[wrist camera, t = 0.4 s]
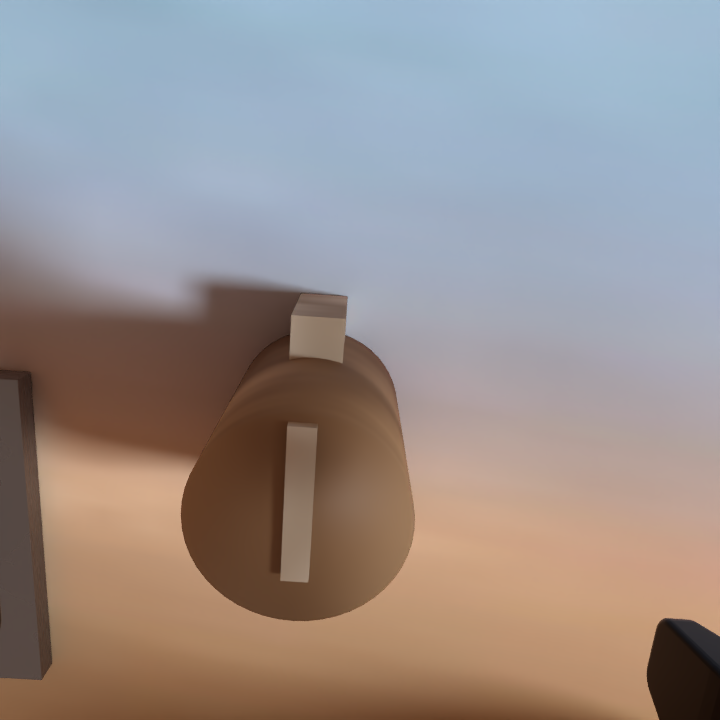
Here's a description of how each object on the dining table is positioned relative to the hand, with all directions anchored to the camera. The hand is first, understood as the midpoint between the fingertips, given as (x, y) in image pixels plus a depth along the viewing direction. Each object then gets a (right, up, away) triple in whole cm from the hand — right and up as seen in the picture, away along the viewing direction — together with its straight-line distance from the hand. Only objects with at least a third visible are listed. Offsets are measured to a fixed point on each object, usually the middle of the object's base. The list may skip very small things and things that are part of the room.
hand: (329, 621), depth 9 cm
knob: (-1, +2, +12) cm, 12 cm away
